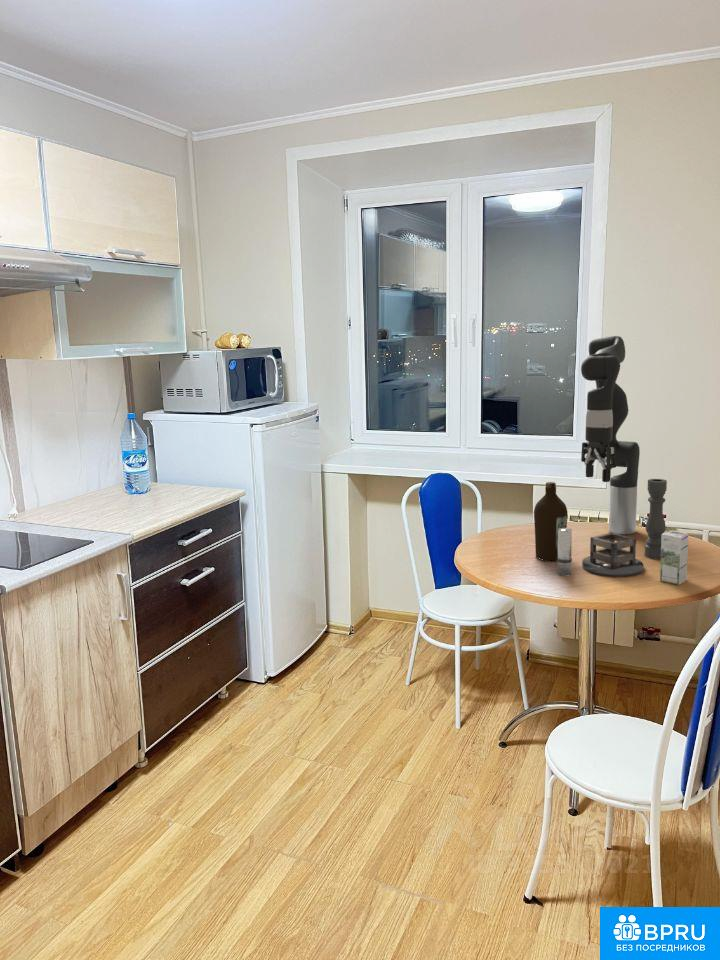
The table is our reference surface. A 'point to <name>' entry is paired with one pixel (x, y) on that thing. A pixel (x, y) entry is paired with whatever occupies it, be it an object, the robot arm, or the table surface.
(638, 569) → the collar stand
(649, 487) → the candle holder
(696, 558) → the table surface
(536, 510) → the olive oil
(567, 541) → the silver metal bottle
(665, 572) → the syrup box
